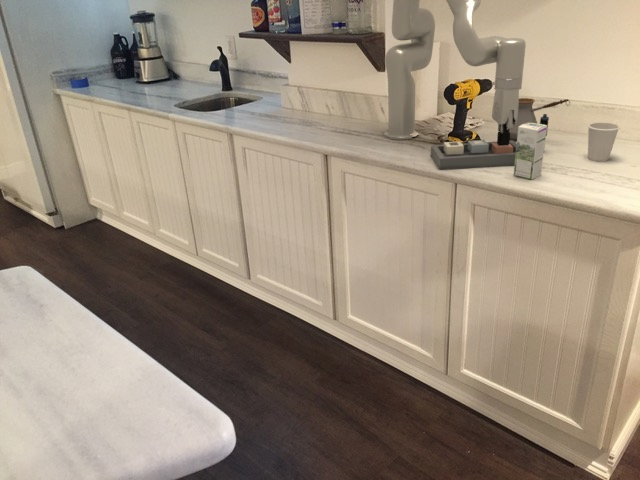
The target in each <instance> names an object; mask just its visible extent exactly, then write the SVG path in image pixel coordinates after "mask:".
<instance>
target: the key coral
mask: <svg viewBox="0 0 640 480" xmlns="http://www.w3.org/2000/svg"><path fill="white" fill-rule="evenodd" d="M491 151H492V152H493V153H494V154H500V153H513V146H512V145H511V144H509V145H503V146H499V145H498V144H497V143H492V150H491Z"/></svg>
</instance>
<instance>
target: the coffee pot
mask: <svg viewBox="0 0 640 480" xmlns="http://www.w3.org/2000/svg"><path fill="white" fill-rule="evenodd" d="M534 102H536V100H535V99H533V98H527V97H524V98H523V97H521V98H520V97H519V104H518V117H517V122H516V123H515V124H513V123H512V129H511V132H510V139H509V140H511V141H517V136H518V127H519V126H521V125H522V124H524V123H535V124H538V121H537V117H536V115H535V112H537V111H540V110H542V109H547V108H551V107H552V108H553V107H557V106H558V105H562V104H563V103H565V105H566V106H567V107H568V106H570V105H571V101H570V100H569V99H568V98H567V99H563V100H562V99H560V100H558V101H553V102H550V103H548V104H544V105H542V106H538V107H535V108H533V104H534ZM567 102H568V104H567Z"/></svg>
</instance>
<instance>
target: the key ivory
mask: <svg viewBox="0 0 640 480" xmlns="http://www.w3.org/2000/svg"><path fill="white" fill-rule="evenodd" d="M443 145H444V151H445V153H446V154H447V155H449V154H463V152H464V146H463V143H462V142H461V141H445V142H443Z"/></svg>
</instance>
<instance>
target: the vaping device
mask: <svg viewBox="0 0 640 480" xmlns="http://www.w3.org/2000/svg"><path fill="white" fill-rule="evenodd" d="M549 118H550V117H549V116H548V114H547V113H544V114H543V115H542V116H541V117H540V120H539V121H540V122H539V124H542V125H547V129H548V127H549ZM547 136H548V130H547V131H546V137H547ZM545 147H546V145H545V146H544V148H545Z"/></svg>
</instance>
